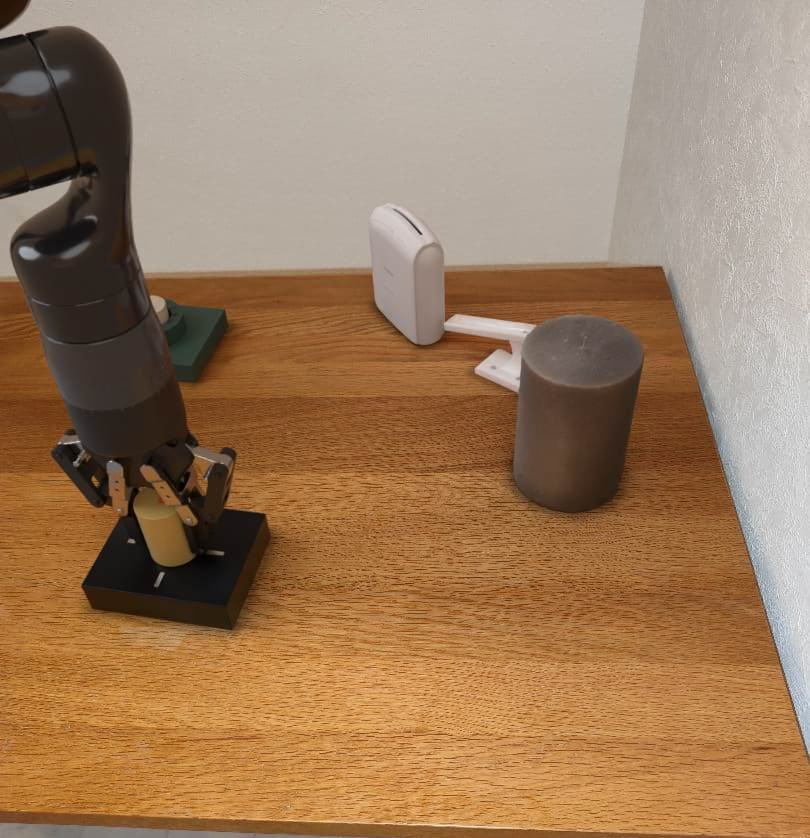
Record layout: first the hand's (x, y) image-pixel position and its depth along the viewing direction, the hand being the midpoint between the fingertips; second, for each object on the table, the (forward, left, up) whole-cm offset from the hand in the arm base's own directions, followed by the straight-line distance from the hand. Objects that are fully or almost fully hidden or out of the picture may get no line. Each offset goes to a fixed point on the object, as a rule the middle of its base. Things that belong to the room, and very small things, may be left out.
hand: (173, 541), depth 71 cm
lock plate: (0, 0, -4) cm, 4 cm away
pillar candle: (+30, +17, -4) cm, 35 cm away
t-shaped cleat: (+25, +30, -4) cm, 39 cm away
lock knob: (0, 0, -1) cm, 1 cm away
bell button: (-14, +29, 0) cm, 32 cm away
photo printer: (+11, +38, -4) cm, 40 cm away
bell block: (-14, +29, -4) cm, 32 cm away
